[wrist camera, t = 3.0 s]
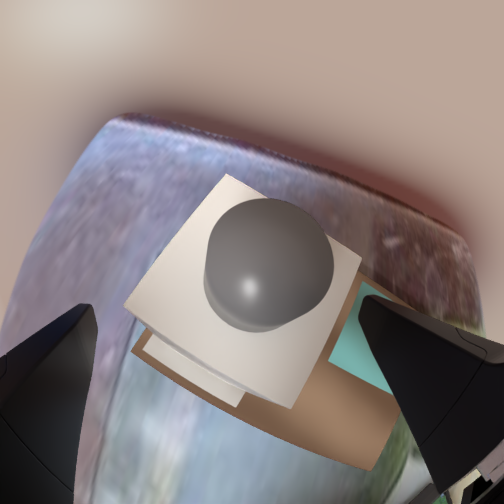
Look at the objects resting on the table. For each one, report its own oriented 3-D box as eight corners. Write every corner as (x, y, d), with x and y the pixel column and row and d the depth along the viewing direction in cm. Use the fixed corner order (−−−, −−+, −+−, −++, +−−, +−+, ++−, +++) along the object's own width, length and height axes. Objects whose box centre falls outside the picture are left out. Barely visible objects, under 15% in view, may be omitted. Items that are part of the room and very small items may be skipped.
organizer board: (361, 467, 15) (371, 471, 14) (134, 352, 15) (130, 351, 14) (421, 324, 20) (431, 320, 19) (238, 206, 21) (240, 196, 19)
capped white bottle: (229, 384, 15) (321, 419, 4) (166, 345, 15) (102, 284, 4) (264, 324, 16) (396, 232, 6) (205, 287, 17) (235, 131, 6)
